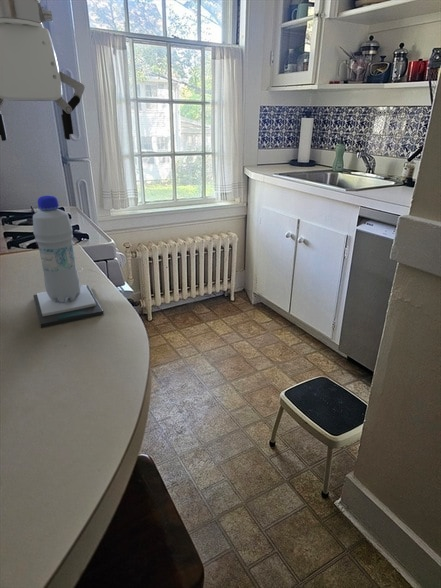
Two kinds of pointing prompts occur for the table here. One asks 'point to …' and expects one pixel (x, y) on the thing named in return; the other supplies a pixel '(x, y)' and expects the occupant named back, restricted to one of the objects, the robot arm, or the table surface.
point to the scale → (66, 308)
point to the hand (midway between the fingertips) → (37, 139)
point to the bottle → (56, 250)
